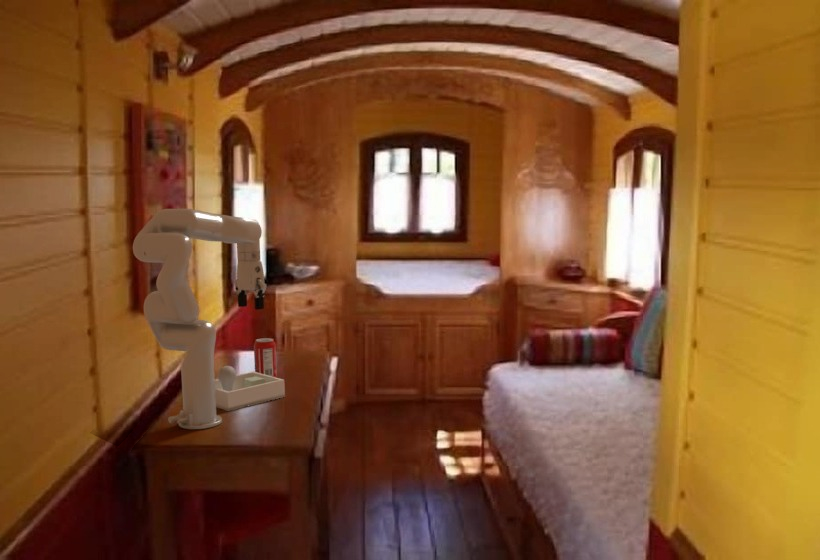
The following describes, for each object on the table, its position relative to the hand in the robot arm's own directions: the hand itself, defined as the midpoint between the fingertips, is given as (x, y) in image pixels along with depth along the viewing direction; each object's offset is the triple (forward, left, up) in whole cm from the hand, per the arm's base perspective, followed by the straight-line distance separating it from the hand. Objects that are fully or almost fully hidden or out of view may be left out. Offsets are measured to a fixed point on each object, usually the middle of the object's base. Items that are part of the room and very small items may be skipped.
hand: (250, 307), depth 264 cm
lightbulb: (-10, +1, -30) cm, 31 cm away
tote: (-5, 0, -30) cm, 31 cm away
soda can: (+16, +16, -31) cm, 38 cm away
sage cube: (0, 0, -29) cm, 29 cm away
